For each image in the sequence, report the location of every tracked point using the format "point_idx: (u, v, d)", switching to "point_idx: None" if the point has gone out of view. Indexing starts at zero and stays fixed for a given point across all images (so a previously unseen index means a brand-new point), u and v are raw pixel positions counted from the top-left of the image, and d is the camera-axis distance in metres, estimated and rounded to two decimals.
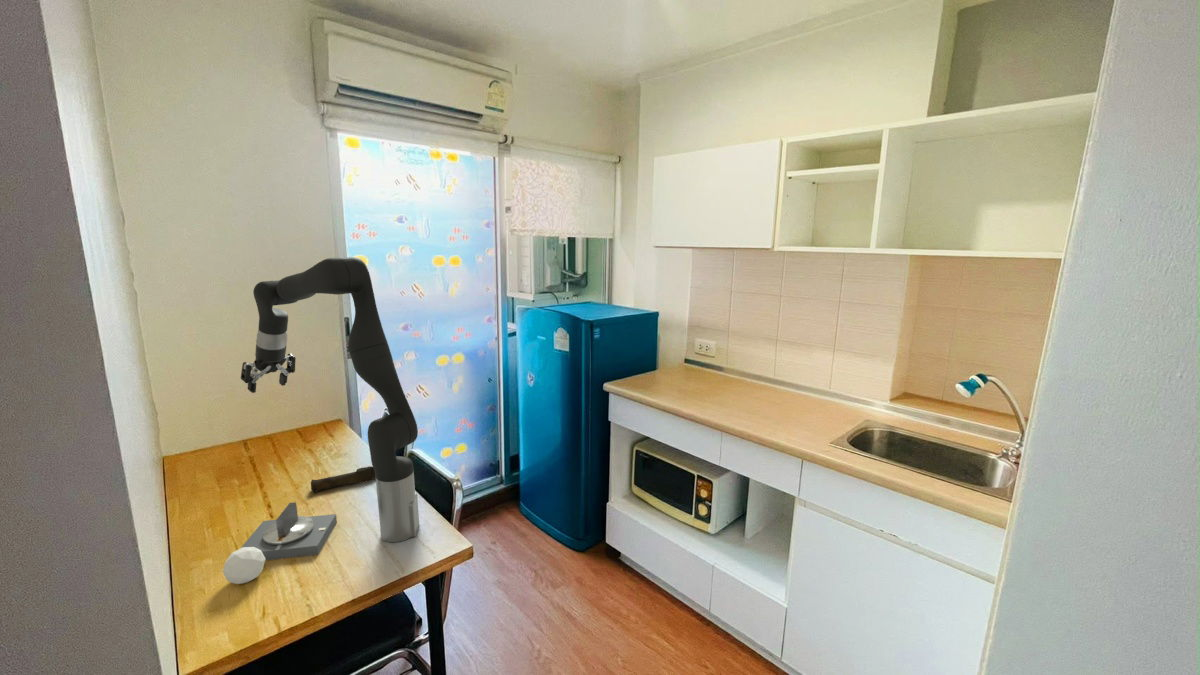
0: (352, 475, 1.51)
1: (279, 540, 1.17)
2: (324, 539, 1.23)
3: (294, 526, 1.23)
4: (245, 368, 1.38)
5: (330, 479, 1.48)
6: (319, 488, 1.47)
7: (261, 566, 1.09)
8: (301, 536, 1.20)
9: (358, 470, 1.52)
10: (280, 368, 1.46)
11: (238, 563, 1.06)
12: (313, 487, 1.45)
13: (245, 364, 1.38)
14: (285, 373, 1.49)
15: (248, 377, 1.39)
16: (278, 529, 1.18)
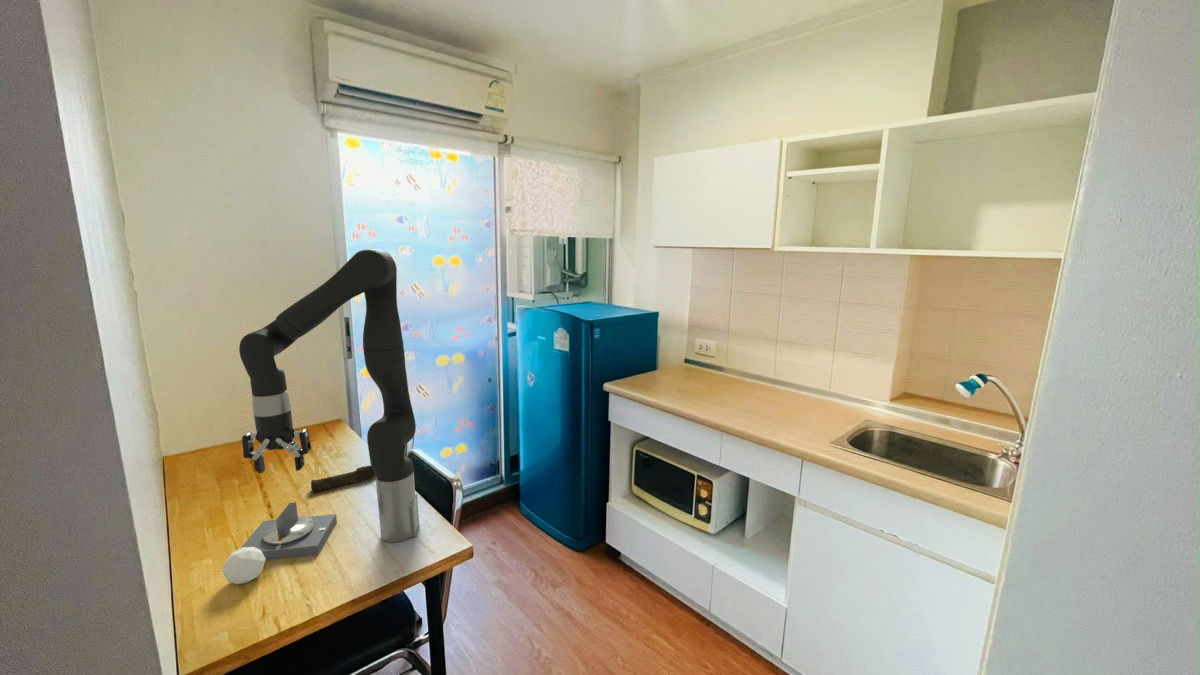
0: (352, 474, 1.52)
1: (279, 540, 1.17)
2: (324, 539, 1.23)
3: (294, 526, 1.23)
4: None
5: (330, 479, 1.48)
6: (319, 488, 1.47)
7: (261, 566, 1.09)
8: (301, 536, 1.20)
9: (358, 469, 1.53)
10: (284, 445, 1.16)
11: (238, 563, 1.06)
12: (314, 487, 1.45)
13: (245, 434, 1.16)
14: (295, 453, 1.18)
15: (246, 451, 1.15)
16: (278, 529, 1.18)
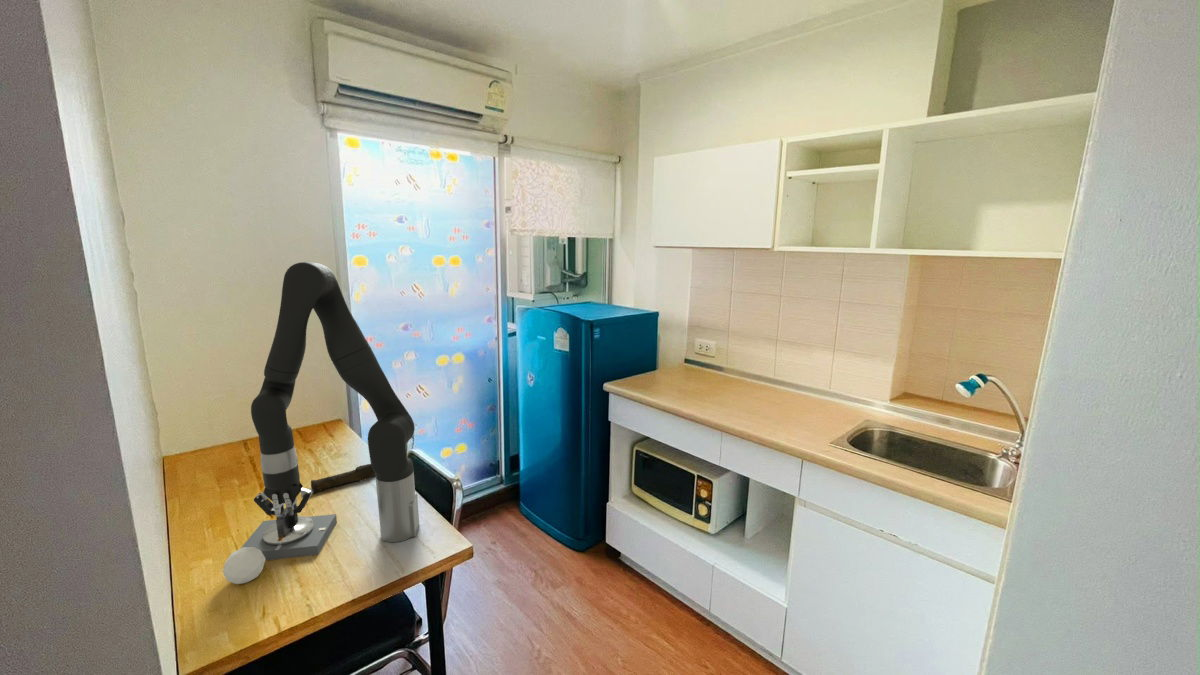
0: (352, 473, 1.52)
1: (279, 540, 1.17)
2: (324, 539, 1.23)
3: None
4: None
5: (330, 478, 1.49)
6: (320, 488, 1.47)
7: (261, 566, 1.09)
8: (301, 536, 1.20)
9: (358, 468, 1.54)
10: (287, 501, 1.19)
11: (238, 563, 1.06)
12: (314, 487, 1.45)
13: None
14: (288, 512, 1.20)
15: (266, 509, 1.19)
16: (278, 529, 1.18)
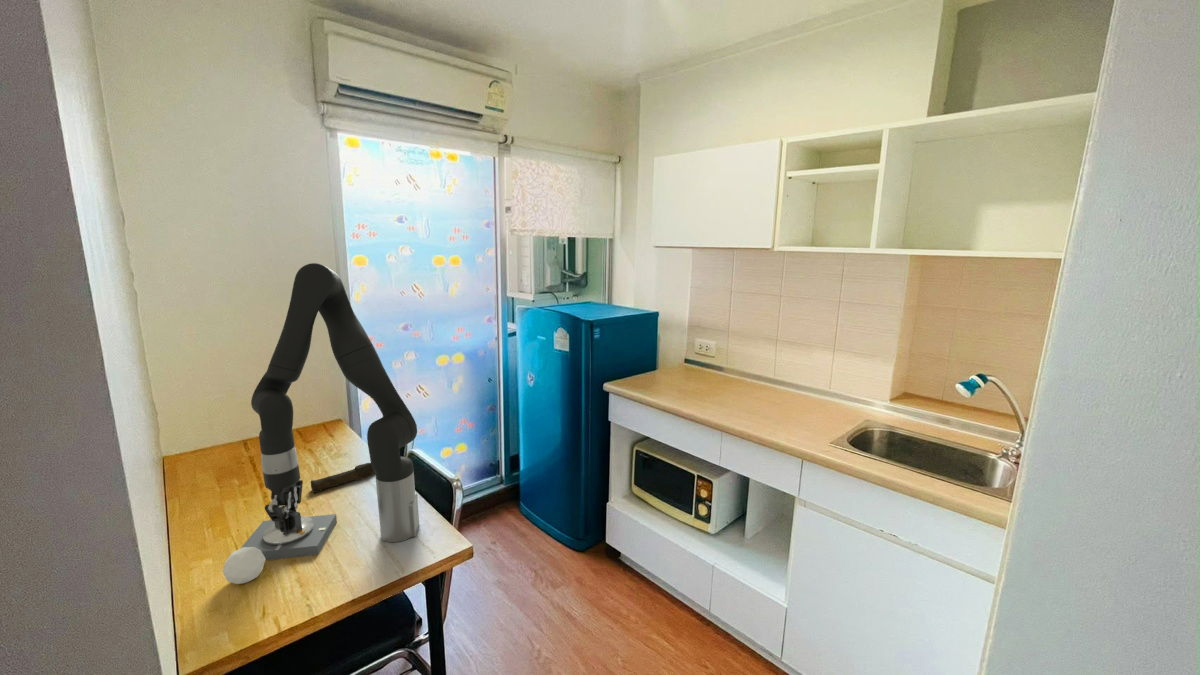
0: (352, 472, 1.53)
1: (303, 532, 1.21)
2: (324, 539, 1.23)
3: None
4: (273, 510, 1.15)
5: (331, 478, 1.49)
6: (320, 488, 1.47)
7: (261, 566, 1.09)
8: (313, 524, 1.25)
9: (357, 467, 1.54)
10: (295, 495, 1.22)
11: (238, 563, 1.06)
12: (315, 487, 1.45)
13: (269, 508, 1.14)
14: (295, 506, 1.23)
15: (282, 514, 1.17)
16: (296, 524, 1.20)
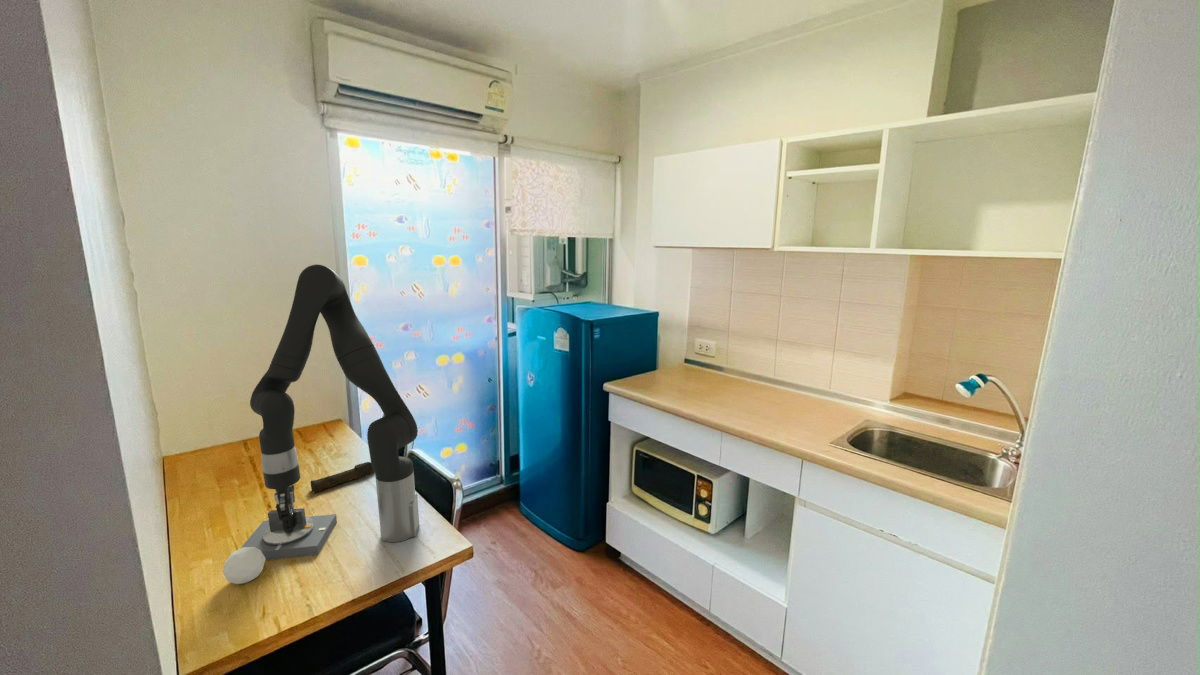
0: (352, 472, 1.53)
1: (310, 526, 1.23)
2: (324, 539, 1.23)
3: None
4: (285, 508, 1.16)
5: (331, 478, 1.49)
6: (321, 488, 1.47)
7: (261, 566, 1.09)
8: None
9: (357, 466, 1.55)
10: None
11: (238, 563, 1.06)
12: (315, 487, 1.45)
13: (281, 506, 1.15)
14: (293, 505, 1.23)
15: (290, 512, 1.18)
16: (303, 520, 1.22)
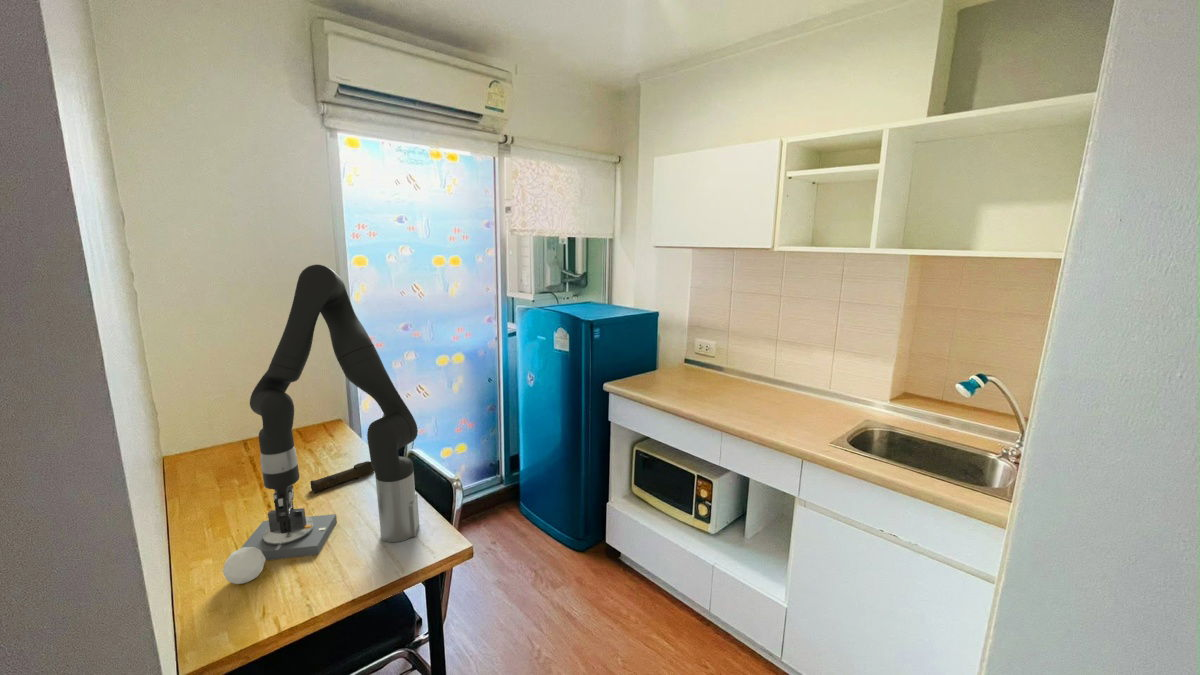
0: (351, 471, 1.54)
1: (310, 526, 1.23)
2: (324, 539, 1.23)
3: None
4: (283, 503, 1.15)
5: (331, 477, 1.49)
6: (321, 487, 1.47)
7: (261, 566, 1.09)
8: None
9: (356, 466, 1.55)
10: (292, 491, 1.23)
11: (238, 563, 1.06)
12: (316, 487, 1.45)
13: (279, 499, 1.14)
14: (292, 497, 1.25)
15: (288, 511, 1.16)
16: (303, 519, 1.22)
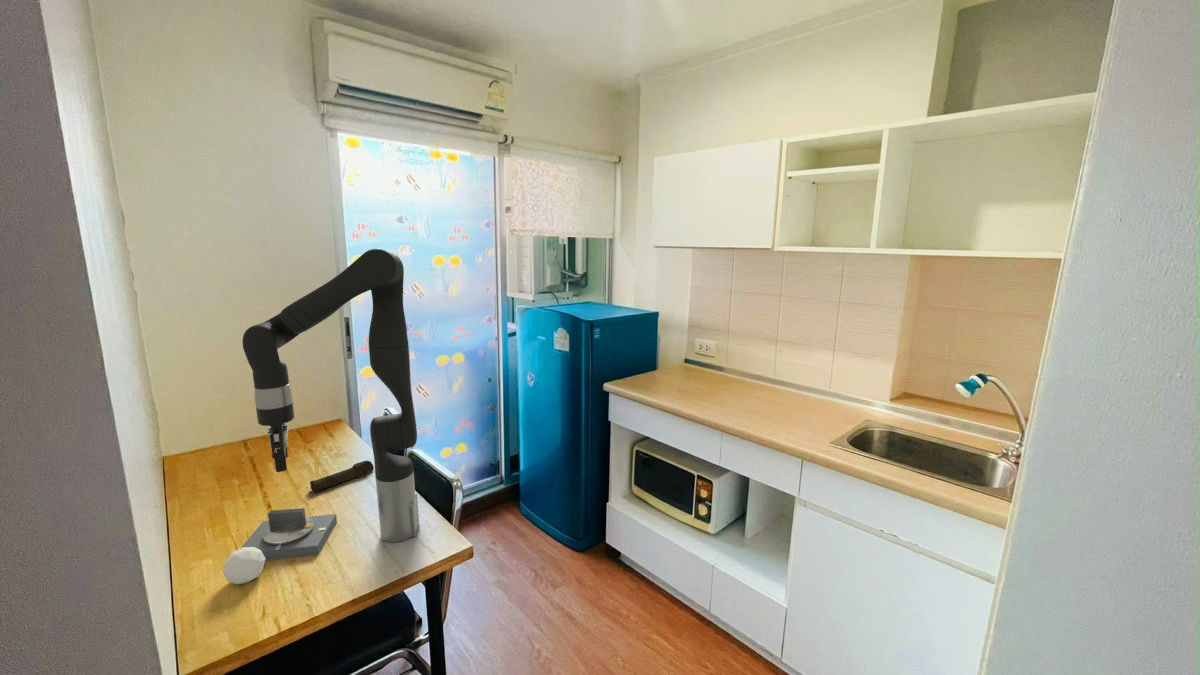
0: (351, 471, 1.54)
1: (310, 526, 1.23)
2: (324, 539, 1.23)
3: None
4: (278, 438, 1.12)
5: (331, 477, 1.49)
6: (321, 487, 1.47)
7: (261, 566, 1.09)
8: None
9: (355, 465, 1.56)
10: (287, 432, 1.21)
11: (238, 563, 1.06)
12: (316, 487, 1.45)
13: (275, 435, 1.12)
14: None
15: (284, 448, 1.14)
16: (303, 519, 1.22)
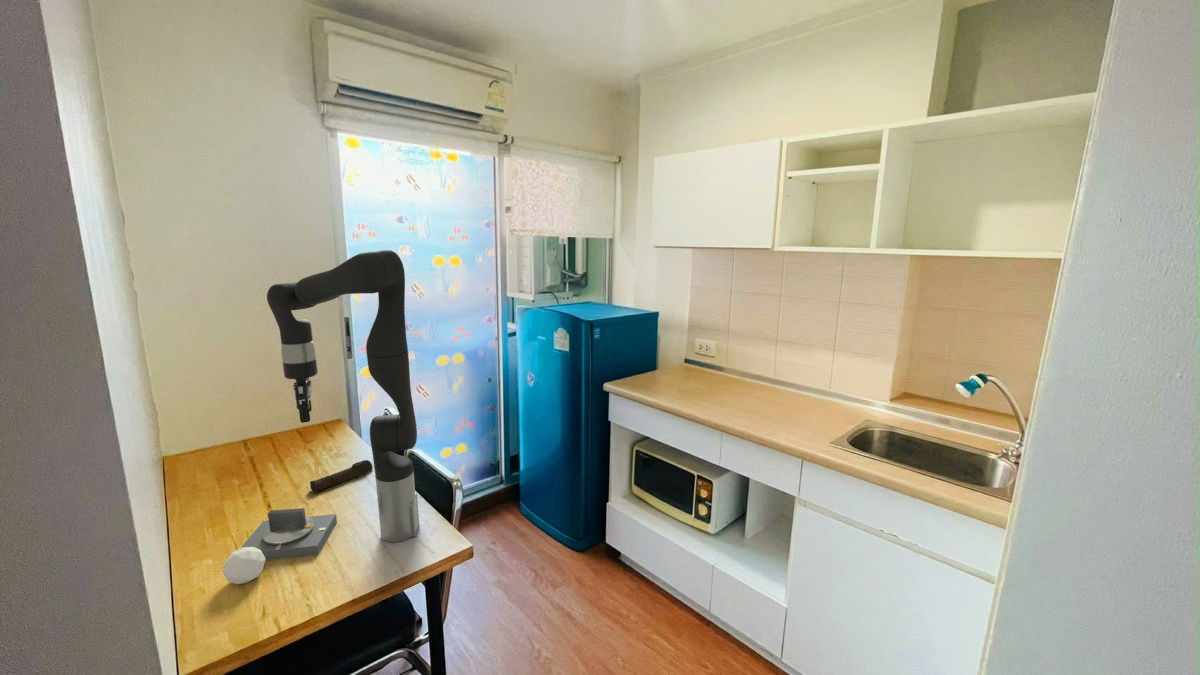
0: (350, 470, 1.54)
1: (310, 526, 1.23)
2: (324, 539, 1.23)
3: None
4: (303, 390, 1.21)
5: (331, 477, 1.49)
6: (321, 487, 1.47)
7: (261, 566, 1.09)
8: None
9: (355, 465, 1.56)
10: (310, 387, 1.29)
11: (238, 563, 1.06)
12: (316, 487, 1.45)
13: (300, 387, 1.20)
14: None
15: (307, 400, 1.22)
16: (303, 519, 1.22)
